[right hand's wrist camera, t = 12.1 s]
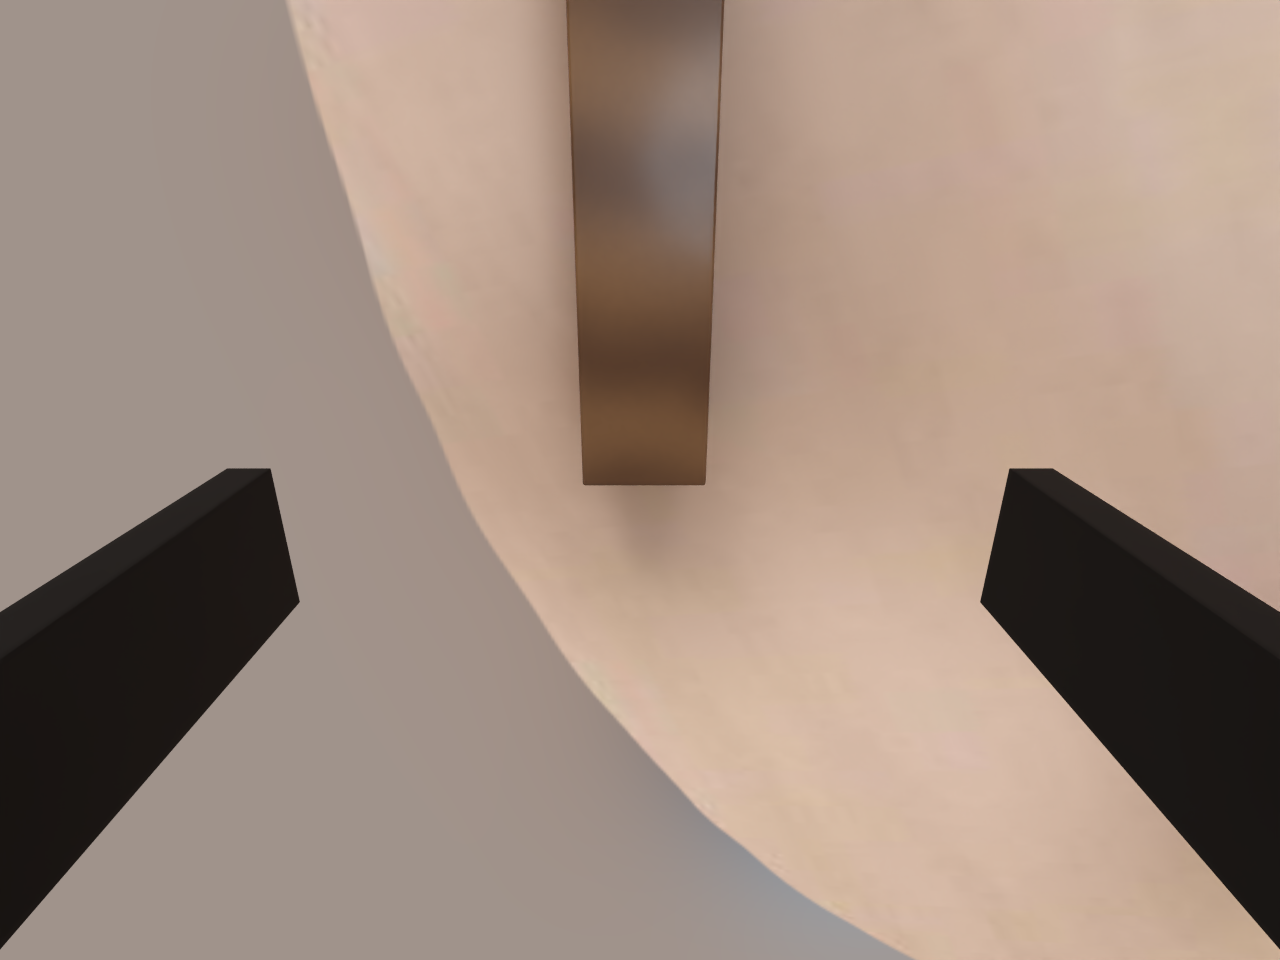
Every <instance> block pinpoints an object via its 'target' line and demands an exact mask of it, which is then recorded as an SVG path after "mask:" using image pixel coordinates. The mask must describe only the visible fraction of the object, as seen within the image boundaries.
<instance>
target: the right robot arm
mask: <svg viewBox="0 0 1280 960" xmlns="http://www.w3.org/2000/svg"><path fill="white" fill-rule="evenodd" d="M299 602H300V601H299V596H298V592H297V588H296V583H295V578H294V574H293V569H292V565H291V560H290V555H289V551H288V546H287V542H286V537H285V533H284V528H283V524H282V519H281V514H280V510H279V505H278V501H277V496H276V492H275V487H274V482H273V478H272V473H271V469H226V470H224V471H223V472H221V473H219V474H218V475H216V476H215V477H213V478H212V479H210V480H208V481H207V482H205V483H204V484H202V485H201V486H199V487H198V488H196V489H194V490H193V491H191V492H189V493H188V494H186V495H185V496H183V497H182V498H180V499H179V500H177V501H175V502H174V503H172V504H171V505H169V506H167V507H166V508H164V509H163V510H161V511H159V512H158V513H156V514H155V515H153V516H152V517H150V518H148V519H147V520H145V521H144V522H142V523H141V524H139V525H137V526H136V527H134V528H133V529H131V530H129V531H128V532H126V533H125V534H123V535H121V536H120V537H118V538H117V539H115V540H114V541H112V542H110V543H109V544H107V545H106V546H104V547H103V548H101V549H99V550H98V551H96V552H95V553H93V554H91V555H90V556H88V557H87V558H85V559H84V560H82V561H80V562H79V563H77V564H76V565H74V566H72V567H71V568H69V569H68V570H66V571H65V572H63V573H61V574H60V575H58V576H57V577H55V578H54V579H52V580H50V581H49V582H47V583H46V584H44V585H42V586H41V587H39V588H38V589H36V590H35V591H33V592H31V593H30V594H28V595H27V596H25V597H24V598H22V599H20V600H19V601H17V602H16V603H14V604H12V605H11V606H9V607H8V608H6V609H5V610H3V611H1V612H0V949H1V948H2V947H3V945H4V944H5V943H6V942H7V941H8V940H9V938H10V937H11V936H12V935H13V934H14V933H15V932H16V930H17V929H18V928H19V927H20V926H21V925H22V923H23V922H24V921H25V920H26V919H27V918H28V916H29V915H30V914H31V913H32V912H33V911H34V910H35V908H36V907H37V906H38V905H39V904H40V903H41V901H42V900H43V899H44V898H45V897H46V896H47V894H48V893H49V892H50V891H51V890H52V889H53V887H54V886H55V885H56V884H57V883H58V882H59V881H60V879H61V878H62V877H63V876H64V875H65V874H66V872H67V871H68V870H69V869H70V868H71V867H72V865H73V864H74V863H75V862H76V861H77V860H78V859H79V857H80V856H81V855H82V854H83V853H84V852H85V850H86V849H87V848H88V847H89V846H90V845H91V843H92V842H93V841H94V840H95V839H96V838H97V836H98V835H99V834H100V833H101V832H102V831H103V830H104V828H105V827H106V826H107V825H108V824H109V823H110V821H111V820H112V819H113V818H114V817H115V816H116V814H117V813H118V812H119V811H120V810H121V809H122V807H123V806H124V805H125V804H126V803H127V802H128V801H129V799H130V798H131V797H132V796H133V795H134V794H135V792H136V791H137V790H138V789H139V788H140V787H141V785H142V784H143V783H144V782H145V781H146V780H147V778H148V777H149V776H150V775H151V774H152V773H153V771H154V770H155V769H156V768H157V767H158V766H159V765H160V763H161V762H162V761H163V760H164V759H165V758H166V756H167V755H168V754H169V753H170V752H171V751H172V750H173V748H174V747H175V746H176V745H177V744H178V743H179V741H180V740H181V739H182V738H183V737H184V736H185V734H186V733H187V732H188V731H189V730H190V729H191V727H192V726H193V725H194V724H195V723H196V722H197V721H198V719H199V718H200V717H201V716H202V715H203V714H204V712H205V711H206V710H207V709H208V708H209V707H210V705H211V704H212V703H213V702H214V701H215V700H216V698H217V697H218V696H219V695H220V694H221V693H222V691H223V690H224V689H225V688H226V687H227V686H228V685H229V683H230V682H231V681H232V680H233V679H234V678H235V676H236V675H237V674H238V673H239V672H240V671H241V670H242V668H243V667H244V666H245V665H246V664H247V662H248V661H249V660H250V659H251V658H252V657H253V656H254V654H255V653H256V652H257V651H258V650H259V649H260V647H261V646H262V645H263V644H264V643H265V642H266V641H267V639H268V638H269V637H270V636H271V635H272V634H273V632H274V631H275V630H276V629H277V628H278V627H279V625H280V624H281V623H282V622H283V621H284V620H285V619H286V617H287V616H288V615H289V614H290V613H291V612H292V610H293V609H294V608H295V607H296V606H297V605H298V603H299ZM980 602H981V603H982V605H983V606H984V607H985V608H986V609H987V610H988V612H989V613H990V614H991V615H992V616H993V617H994V619H995V620H996V621H997V622H998V623H999V624H1000V625H1001V627H1002V628H1003V629H1004V630H1005V631H1006V632H1007V634H1008V635H1009V636H1010V637H1011V638H1012V639H1013V641H1014V642H1015V643H1016V644H1017V645H1018V646H1019V648H1020V649H1021V650H1022V651H1023V652H1024V653H1025V654H1026V656H1027V657H1028V658H1029V659H1030V660H1031V661H1032V663H1033V664H1034V665H1035V666H1036V667H1037V668H1038V670H1039V671H1040V672H1041V673H1042V674H1043V675H1044V676H1045V678H1046V679H1047V680H1048V681H1049V682H1050V683H1051V685H1052V686H1053V687H1054V688H1055V689H1056V690H1057V692H1058V693H1059V694H1060V695H1061V696H1062V697H1063V699H1064V700H1065V701H1066V702H1067V703H1068V704H1069V705H1070V707H1071V708H1072V709H1073V710H1074V711H1075V712H1076V714H1077V715H1078V716H1079V717H1080V718H1081V719H1082V721H1083V722H1084V723H1085V724H1086V725H1087V726H1088V728H1089V729H1090V730H1091V731H1092V732H1093V733H1094V734H1095V736H1096V737H1097V738H1098V739H1099V740H1100V741H1101V743H1102V744H1103V745H1104V746H1105V747H1106V748H1107V750H1108V751H1109V752H1110V753H1111V754H1112V755H1113V756H1114V758H1115V759H1116V760H1117V761H1118V762H1119V763H1120V765H1121V766H1122V767H1123V768H1124V769H1125V770H1126V772H1127V773H1128V774H1129V775H1130V776H1131V777H1132V779H1133V780H1134V781H1135V782H1136V783H1137V784H1138V785H1139V787H1140V788H1141V789H1142V790H1143V791H1144V792H1145V794H1146V795H1147V796H1148V797H1149V798H1150V799H1151V801H1152V802H1153V803H1154V804H1155V805H1156V806H1157V808H1158V809H1159V810H1160V811H1161V812H1162V813H1163V814H1164V816H1165V817H1166V818H1167V819H1168V820H1169V821H1170V823H1171V824H1172V825H1173V826H1174V827H1175V828H1176V830H1177V831H1178V832H1179V833H1180V834H1181V835H1182V836H1183V838H1184V839H1185V840H1186V841H1187V842H1188V843H1189V845H1190V846H1191V847H1192V848H1193V849H1194V850H1195V852H1196V853H1197V854H1198V855H1199V856H1200V857H1201V859H1202V860H1203V861H1204V862H1205V863H1206V864H1207V865H1208V867H1209V868H1210V869H1211V870H1212V871H1213V872H1214V874H1215V875H1216V876H1217V877H1218V878H1219V879H1220V881H1221V882H1222V883H1223V884H1224V885H1225V886H1226V888H1227V889H1228V890H1229V891H1230V892H1231V893H1232V894H1233V896H1234V897H1235V898H1236V899H1237V900H1238V901H1239V903H1240V904H1241V905H1242V906H1243V907H1244V908H1245V910H1246V911H1247V912H1248V913H1249V914H1250V915H1251V916H1252V918H1253V919H1254V920H1255V921H1256V922H1257V923H1258V925H1259V926H1260V927H1261V928H1262V929H1263V930H1264V932H1265V933H1266V934H1267V935H1268V936H1269V937H1270V939H1271V940H1272V941H1273V942H1274V943H1275V944H1276V945H1277V947H1278V948H1279V949H1280V612H1279V611H1277V610H1275V609H1274V608H1272V607H1271V606H1269V605H1268V604H1266V603H1264V602H1263V601H1261V600H1260V599H1258V598H1257V597H1255V596H1253V595H1252V594H1250V593H1249V592H1247V591H1245V590H1244V589H1242V588H1241V587H1239V586H1238V585H1236V584H1234V583H1233V582H1231V581H1230V580H1228V579H1226V578H1225V577H1223V576H1222V575H1220V574H1219V573H1217V572H1215V571H1214V570H1212V569H1211V568H1209V567H1208V566H1206V565H1204V564H1203V563H1201V562H1200V561H1198V560H1196V559H1195V558H1193V557H1192V556H1190V555H1189V554H1187V553H1185V552H1184V551H1182V550H1181V549H1179V548H1177V547H1176V546H1174V545H1173V544H1171V543H1170V542H1168V541H1166V540H1165V539H1163V538H1162V537H1160V536H1159V535H1157V534H1155V533H1154V532H1152V531H1151V530H1149V529H1147V528H1146V527H1144V526H1143V525H1141V524H1140V523H1138V522H1136V521H1135V520H1133V519H1132V518H1130V517H1128V516H1127V515H1125V514H1124V513H1122V512H1121V511H1119V510H1117V509H1116V508H1114V507H1113V506H1111V505H1110V504H1108V503H1106V502H1105V501H1103V500H1102V499H1100V498H1098V497H1097V496H1095V495H1094V494H1092V493H1091V492H1089V491H1087V490H1086V489H1084V488H1083V487H1081V486H1079V485H1078V484H1076V483H1075V482H1073V481H1072V480H1070V479H1068V478H1067V477H1065V476H1064V475H1062V474H1061V473H1059V472H1057V471H1056V470H1054V469H1009V473H1008V478H1007V482H1006V487H1005V492H1004V496H1003V501H1002V505H1001V510H1000V514H999V519H998V524H997V528H996V533H995V537H994V542H993V546H992V551H991V555H990V560H989V565H988V569H987V574H986V578H985V583H984V587H983V592H982V596H981V601H980Z"/></svg>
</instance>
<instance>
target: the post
mask: <svg viewBox="0 0 1280 960" xmlns="http://www.w3.org/2000/svg"><path fill="white" fill-rule="evenodd" d="M566 9H567V38H568V67H569V96H570V125H571V153H572V182H573V211H574V240H575V269H576V298H577V326H578V355H579V384H580V413H581V442H582V470H583V484H584V485H705V483H706V459H707V433H708V407H709V382H710V356H711V330H712V304H713V278H714V252H715V227H716V201H717V175H718V149H719V123H720V98H721V72H722V46H723V20H724V0H566Z"/></svg>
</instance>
